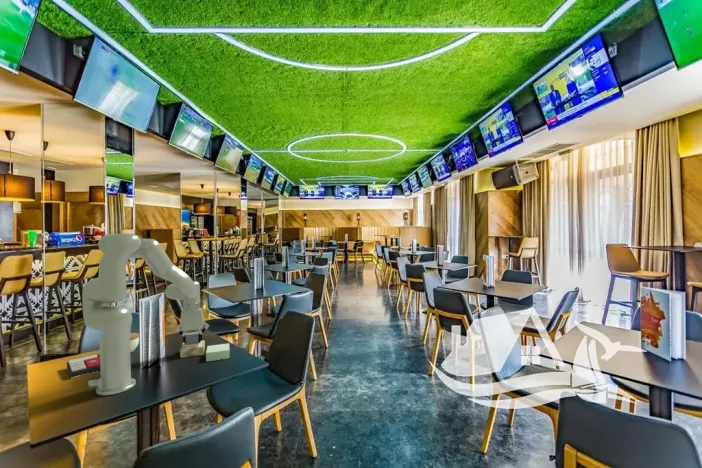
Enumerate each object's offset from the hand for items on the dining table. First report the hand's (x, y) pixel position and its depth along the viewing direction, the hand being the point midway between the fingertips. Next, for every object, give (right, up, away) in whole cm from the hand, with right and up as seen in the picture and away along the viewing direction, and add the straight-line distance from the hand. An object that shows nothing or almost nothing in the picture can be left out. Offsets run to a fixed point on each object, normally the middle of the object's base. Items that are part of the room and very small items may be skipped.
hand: (192, 342), depth 166 cm
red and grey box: (-39, -7, -18) cm, 44 cm away
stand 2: (+15, -5, -5) cm, 16 cm away
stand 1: (0, -5, 0) cm, 5 cm away
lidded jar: (-35, -6, +4) cm, 36 cm away
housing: (0, -1, 0) cm, 1 cm away
